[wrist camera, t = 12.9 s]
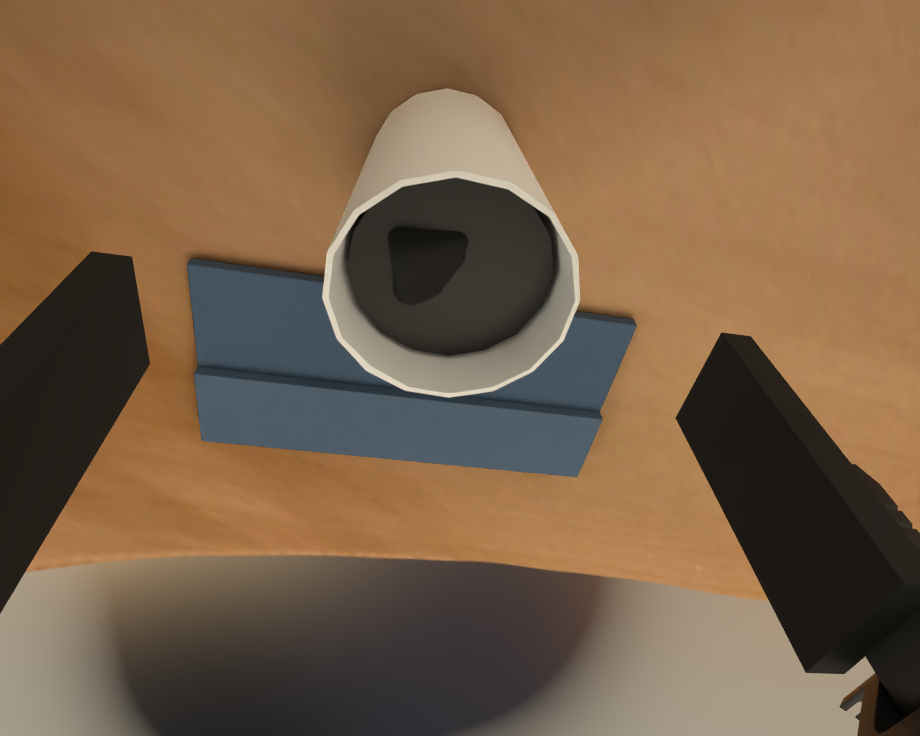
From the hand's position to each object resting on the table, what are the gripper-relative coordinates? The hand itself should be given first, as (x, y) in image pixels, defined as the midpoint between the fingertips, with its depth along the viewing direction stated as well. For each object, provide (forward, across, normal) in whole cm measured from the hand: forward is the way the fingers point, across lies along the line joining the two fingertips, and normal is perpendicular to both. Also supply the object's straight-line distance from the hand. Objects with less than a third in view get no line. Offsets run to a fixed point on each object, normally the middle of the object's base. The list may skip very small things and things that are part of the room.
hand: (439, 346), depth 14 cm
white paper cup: (+12, +1, 0) cm, 12 cm away
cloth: (+12, 0, -10) cm, 16 cm away
